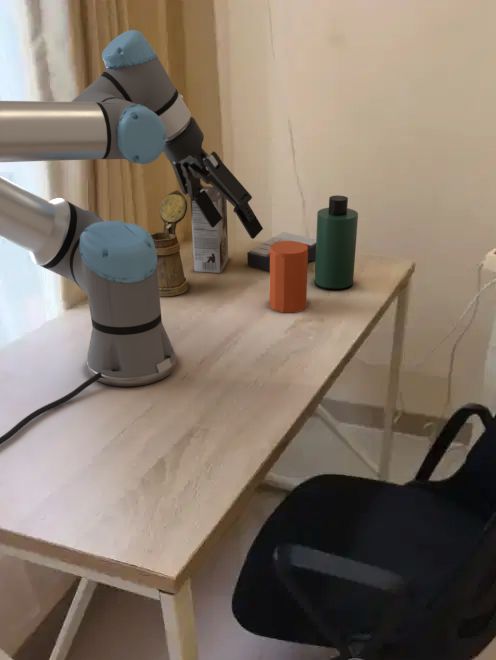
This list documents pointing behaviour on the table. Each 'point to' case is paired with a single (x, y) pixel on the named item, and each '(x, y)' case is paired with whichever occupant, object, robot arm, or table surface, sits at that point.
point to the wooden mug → (170, 246)
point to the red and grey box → (261, 253)
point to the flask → (335, 245)
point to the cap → (288, 276)
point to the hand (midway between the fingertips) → (236, 228)
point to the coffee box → (210, 235)
